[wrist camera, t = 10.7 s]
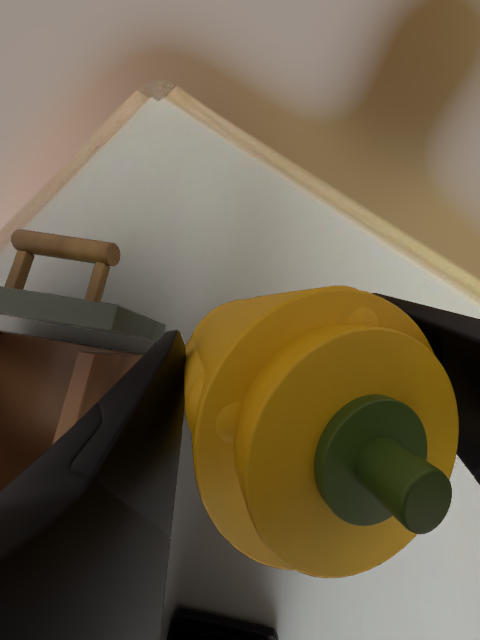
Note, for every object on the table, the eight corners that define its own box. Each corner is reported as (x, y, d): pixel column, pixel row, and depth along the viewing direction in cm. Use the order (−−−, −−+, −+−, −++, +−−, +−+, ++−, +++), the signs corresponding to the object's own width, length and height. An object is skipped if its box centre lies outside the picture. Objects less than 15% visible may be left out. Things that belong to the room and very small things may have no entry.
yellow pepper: (282, 416, 14) (524, 683, 4) (170, 405, 12) (119, 828, 2) (305, 310, 14) (605, 319, 4) (197, 283, 12) (260, 182, 2)
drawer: (28, 248, 17) (-89, 188, 11) (177, 270, 17) (140, 220, 11) (-72, 531, 14) (-311, 662, 8) (110, 571, 13) (2, 745, 7)
